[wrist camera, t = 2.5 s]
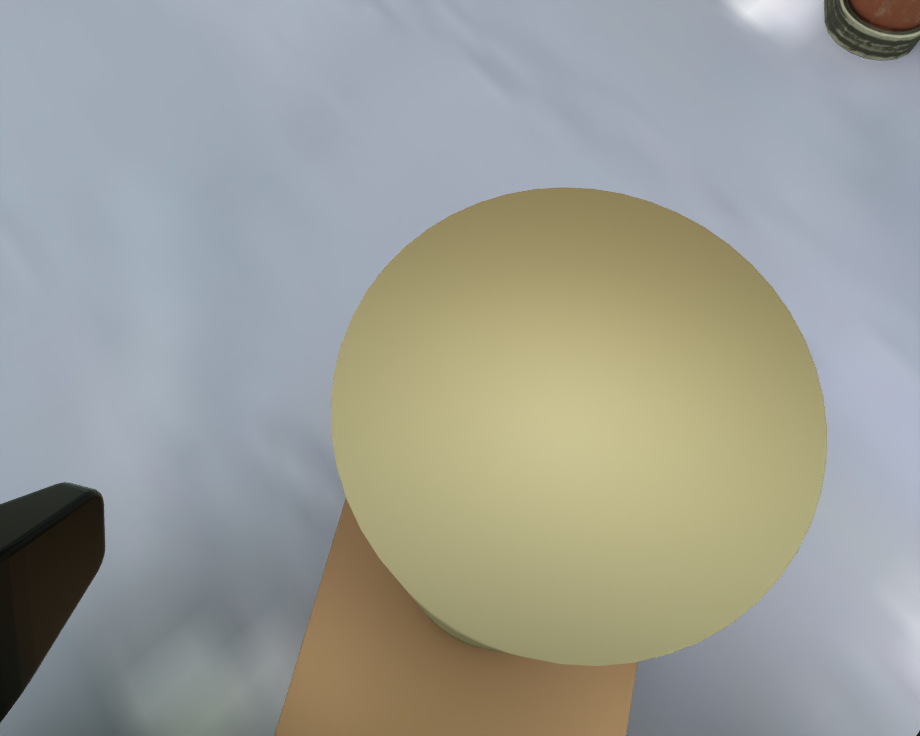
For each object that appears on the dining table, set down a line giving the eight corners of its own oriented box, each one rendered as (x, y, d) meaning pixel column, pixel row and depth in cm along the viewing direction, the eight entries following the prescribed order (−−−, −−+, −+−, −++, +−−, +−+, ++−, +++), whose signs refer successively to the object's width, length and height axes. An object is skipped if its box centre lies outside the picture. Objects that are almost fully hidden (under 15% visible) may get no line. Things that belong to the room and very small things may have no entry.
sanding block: (584, 812, 15) (1106, 1476, 3) (297, 733, 16) (-221, 1046, 4) (649, 435, 18) (1075, 0, 6) (401, 375, 18) (307, -151, 6)
